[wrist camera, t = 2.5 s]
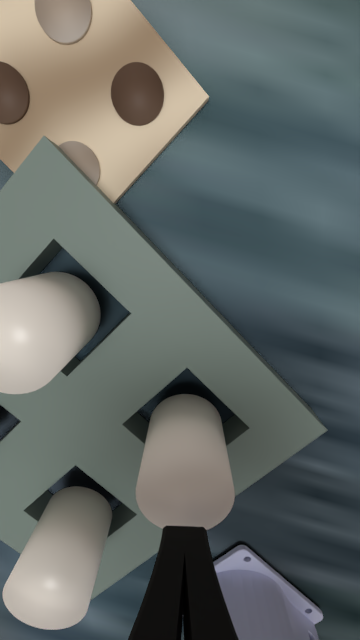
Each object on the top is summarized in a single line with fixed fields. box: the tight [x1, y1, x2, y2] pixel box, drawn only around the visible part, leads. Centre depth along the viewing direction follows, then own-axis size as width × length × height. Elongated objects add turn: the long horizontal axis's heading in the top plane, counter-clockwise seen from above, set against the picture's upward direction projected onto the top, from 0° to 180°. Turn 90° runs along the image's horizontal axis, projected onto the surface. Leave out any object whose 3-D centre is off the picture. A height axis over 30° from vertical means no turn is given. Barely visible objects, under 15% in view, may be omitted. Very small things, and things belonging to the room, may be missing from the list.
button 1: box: [3, 486, 112, 630], centre depth 16 cm, size 4×4×4 cm
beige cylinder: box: [135, 394, 235, 530], centre depth 14 cm, size 4×4×4 cm
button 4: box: [0, 272, 101, 394], centre depth 12 cm, size 4×4×4 cm
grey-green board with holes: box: [0, 136, 327, 600], centre depth 17 cm, size 20×20×2 cm
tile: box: [0, 0, 209, 204], centre depth 13 cm, size 9×9×1 cm
